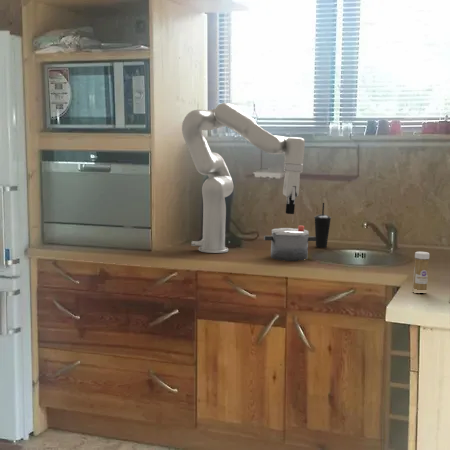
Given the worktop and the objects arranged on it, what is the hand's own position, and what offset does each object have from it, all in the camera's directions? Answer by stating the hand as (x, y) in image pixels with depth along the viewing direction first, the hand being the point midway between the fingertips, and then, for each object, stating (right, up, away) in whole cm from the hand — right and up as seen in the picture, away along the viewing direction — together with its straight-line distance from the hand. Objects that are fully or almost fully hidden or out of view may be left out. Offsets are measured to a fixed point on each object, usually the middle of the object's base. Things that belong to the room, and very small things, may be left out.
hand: (289, 213), depth 284 cm
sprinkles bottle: (+37, -27, -54) cm, 71 cm away
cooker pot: (0, -18, +4) cm, 18 cm away
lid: (0, -8, +2) cm, 8 cm away
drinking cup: (+17, -15, +34) cm, 41 cm away
